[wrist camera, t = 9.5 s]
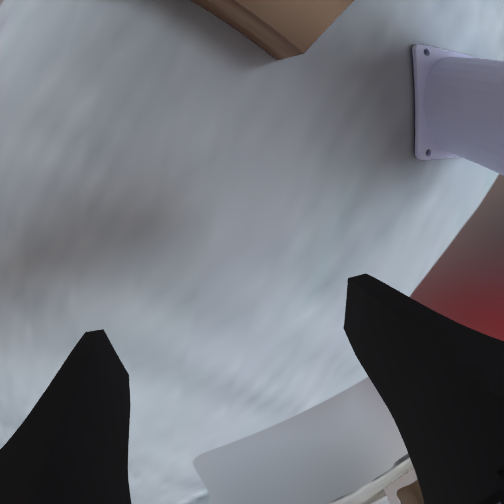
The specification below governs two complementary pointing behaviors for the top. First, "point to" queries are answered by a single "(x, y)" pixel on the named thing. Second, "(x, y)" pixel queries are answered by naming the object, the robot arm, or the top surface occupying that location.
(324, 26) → the walnut base
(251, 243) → the top surface
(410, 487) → the gable box
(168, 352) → the top surface
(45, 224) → the top surface
